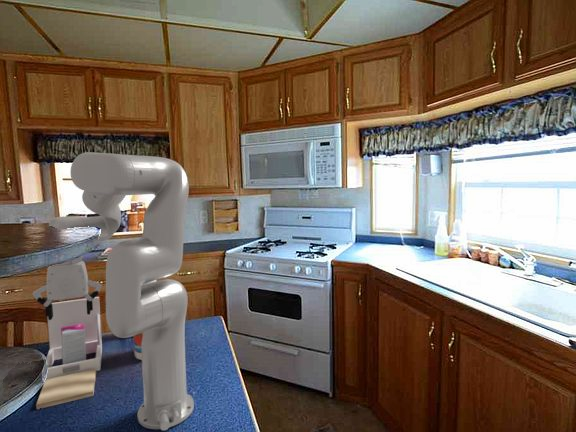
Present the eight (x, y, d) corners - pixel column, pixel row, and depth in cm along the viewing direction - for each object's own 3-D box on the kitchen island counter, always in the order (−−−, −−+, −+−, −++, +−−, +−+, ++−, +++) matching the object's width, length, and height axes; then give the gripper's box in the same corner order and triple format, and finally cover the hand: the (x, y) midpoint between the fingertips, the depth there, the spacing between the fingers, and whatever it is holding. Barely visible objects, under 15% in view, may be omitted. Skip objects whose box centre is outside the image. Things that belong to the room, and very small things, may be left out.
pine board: (93, 395, 89) (93, 391, 88) (36, 409, 83) (36, 404, 83) (96, 372, 99) (95, 368, 99) (45, 383, 94) (45, 379, 94)
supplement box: (87, 365, 103) (84, 328, 102) (63, 372, 100) (60, 334, 99) (84, 357, 108) (82, 322, 107) (62, 364, 104) (59, 327, 103)
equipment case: (100, 371, 100) (96, 312, 98) (41, 384, 94) (36, 322, 92) (102, 348, 114) (98, 296, 112) (51, 358, 108) (47, 303, 106)
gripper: (27, 265, 94) (31, 325, 95) (99, 259, 101) (102, 315, 103) (33, 259, 100) (37, 315, 102) (101, 253, 108) (103, 306, 110)
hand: (70, 315), depth 103 cm, fingers open, 9 cm apart
